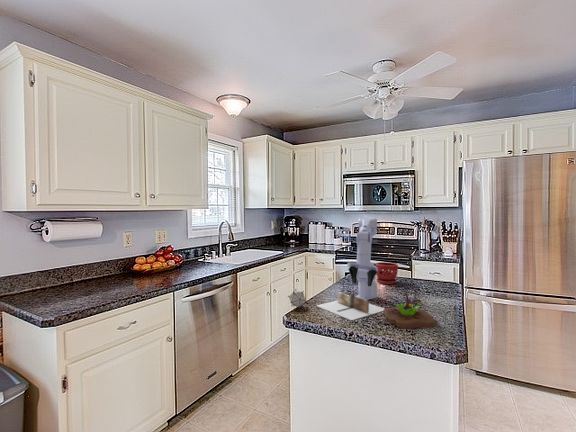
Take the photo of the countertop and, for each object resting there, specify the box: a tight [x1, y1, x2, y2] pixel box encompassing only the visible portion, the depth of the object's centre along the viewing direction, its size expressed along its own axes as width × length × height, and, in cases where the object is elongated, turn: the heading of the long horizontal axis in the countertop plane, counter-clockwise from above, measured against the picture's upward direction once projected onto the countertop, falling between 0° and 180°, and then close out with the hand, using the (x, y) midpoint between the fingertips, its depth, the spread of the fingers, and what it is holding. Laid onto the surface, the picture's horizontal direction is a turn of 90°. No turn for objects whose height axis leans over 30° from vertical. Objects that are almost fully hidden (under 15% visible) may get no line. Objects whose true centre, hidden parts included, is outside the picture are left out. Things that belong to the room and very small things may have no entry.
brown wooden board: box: [354, 296, 370, 313], centre depth 140 cm, size 8×1×5 cm, turn 35°
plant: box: [383, 291, 438, 329], centre depth 131 cm, size 20×20×11 cm
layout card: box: [315, 299, 385, 322], centre depth 145 cm, size 23×23×1 cm
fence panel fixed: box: [337, 291, 355, 308], centre depth 148 cm, size 10×2×6 cm, turn 35°
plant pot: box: [375, 261, 399, 285], centre depth 193 cm, size 13×13×12 cm
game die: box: [287, 288, 309, 310], centre depth 146 cm, size 9×8×10 cm
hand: (361, 284), depth 142 cm, fingers open, 7 cm apart
